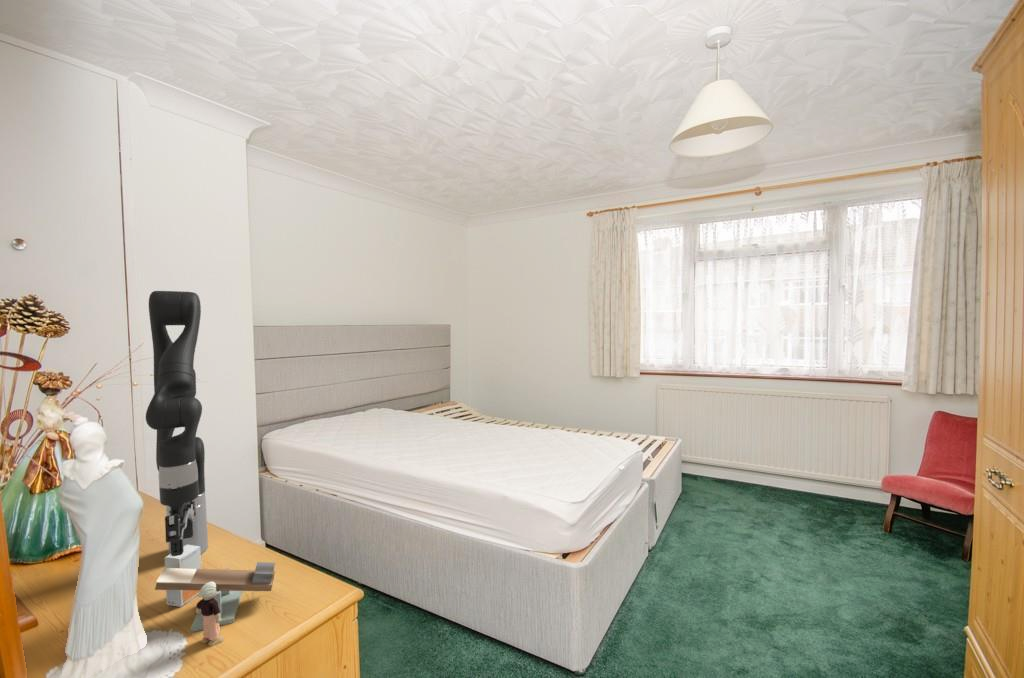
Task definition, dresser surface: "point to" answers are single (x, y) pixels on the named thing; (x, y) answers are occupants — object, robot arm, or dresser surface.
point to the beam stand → (221, 608)
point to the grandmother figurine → (210, 614)
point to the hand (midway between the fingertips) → (182, 546)
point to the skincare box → (187, 561)
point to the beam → (218, 578)
